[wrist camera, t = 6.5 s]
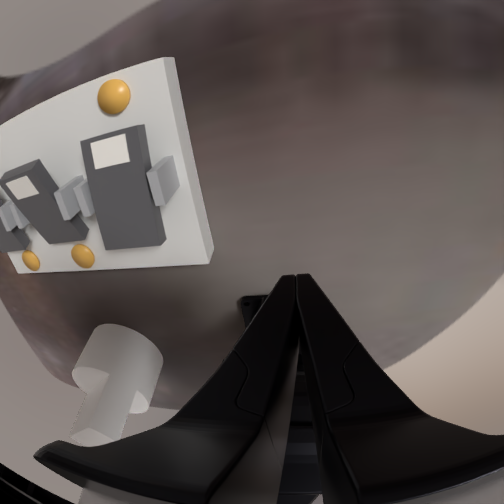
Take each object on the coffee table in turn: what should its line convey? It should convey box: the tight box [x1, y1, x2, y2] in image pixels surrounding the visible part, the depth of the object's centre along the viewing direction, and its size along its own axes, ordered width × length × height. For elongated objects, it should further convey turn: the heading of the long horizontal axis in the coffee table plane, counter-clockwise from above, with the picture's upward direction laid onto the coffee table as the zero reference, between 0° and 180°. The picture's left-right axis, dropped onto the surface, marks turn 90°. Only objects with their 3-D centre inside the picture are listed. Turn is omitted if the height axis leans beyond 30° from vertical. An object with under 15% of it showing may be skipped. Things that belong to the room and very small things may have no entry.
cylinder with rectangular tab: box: [69, 324, 163, 447], centre depth 28 cm, size 9×9×12 cm
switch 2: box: [0, 159, 89, 244], centre depth 18 cm, size 7×4×1 cm, turn 8°
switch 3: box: [80, 124, 167, 250], centre depth 17 cm, size 7×4×1 cm, turn 8°
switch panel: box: [0, 57, 214, 273], centre depth 19 cm, size 14×21×5 cm, turn 98°
